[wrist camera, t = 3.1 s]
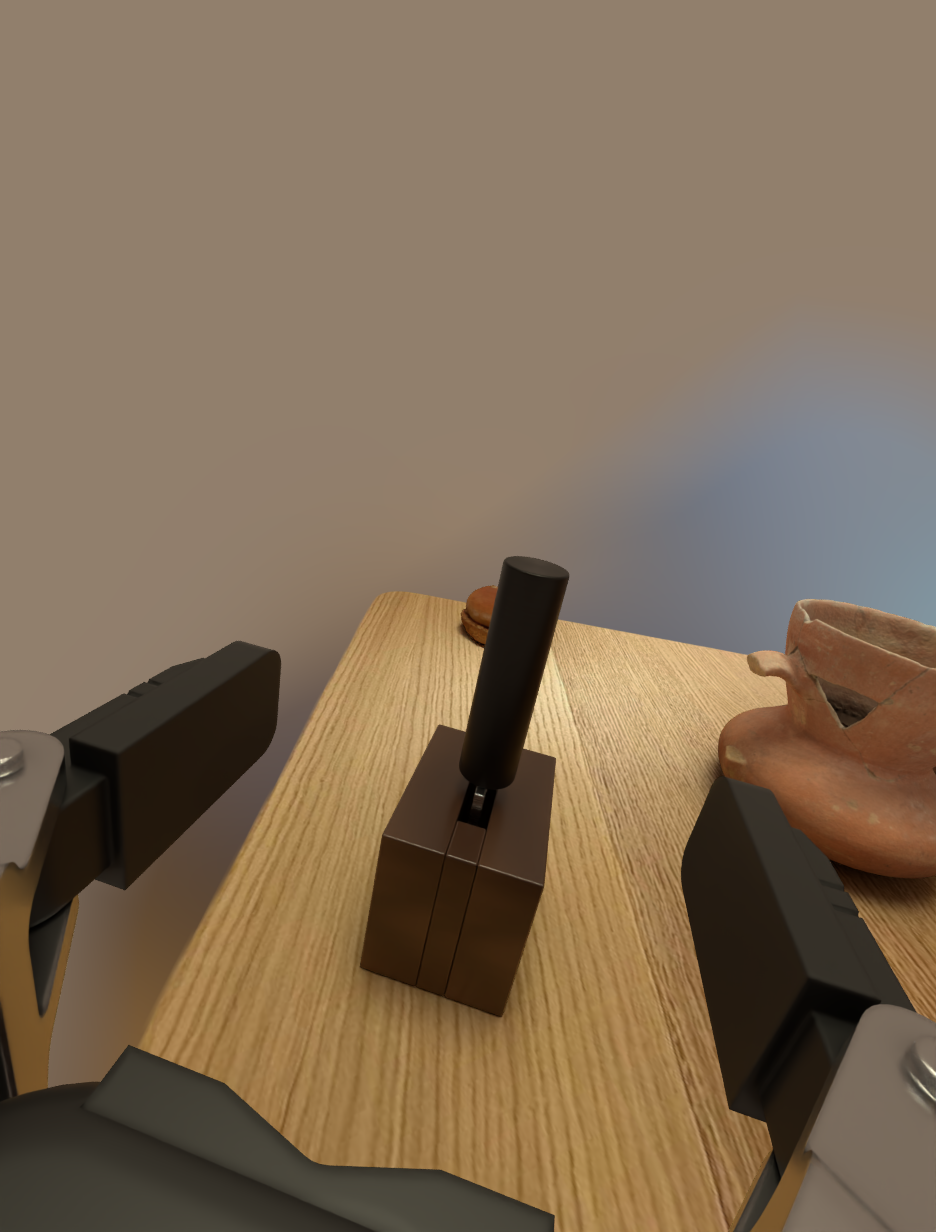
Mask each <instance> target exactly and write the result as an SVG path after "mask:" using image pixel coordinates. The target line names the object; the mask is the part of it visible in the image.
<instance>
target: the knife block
mask: <svg viewBox="0 0 936 1232" xmlns="http://www.w3.org/2000/svg"><path fill="white" fill-rule="evenodd" d="M465 734H466V732H464V731H461V730H457V729H454V728H450V727H447V726H443V725H438V727H437V729H436V731H435V733H434V735H433V736H432V738H431V740H430V742H429V744H428V746H427V748H426V750H425V752H424V754H423V756H422V758H421V760H420V762H419V764H418V766H417V768H416V770H415V772H414V774H413V776H412V778H411V780H410V781H409V783H408V785H407V787H406V789H405V791H404V793H403V795H402V797H401V799H400V801H399V803H398V805H397V807H396V809H395V811H394V813H393V815H392V817H391V819H390V821H389V823H388V825H387V827H386V828H385V830H384V832H383V834H382V839H381V845H380V851H379V857H378V863H377V869H376V875H375V880H374V886H373V892H372V898H371V904H370V910H369V916H368V922H367V928H366V934H365V940H364V946H363V951H362V957H361V963H360V967H362V968H365V969H368V970H370V971H373V972H376V973H379V974H382V975H385V976H387V977H390V978H393V979H396V980H399V981H401V982H404V983H407V984H410V985H413V986H415V985H416V986H417V987H419V988H422V989H425V990H428V991H430V992H433V993H436V994H439V995H442V996H443V995H444V994H445V997H447V998H450V999H452V1000H455V1001H458V1002H461V1003H464V1004H466V1005H469V1006H472V1007H475V1008H478V1009H481V1010H483V1011H486V1012H489V1013H492V1014H495V1015H497V1016H500V1017H501V1016H502V1015H503V1013H504V1010H505V1006H506V1003H507V1000H508V997H509V994H510V991H511V988H512V985H513V982H514V979H515V975H516V972H517V969H518V966H519V963H520V960H521V957H522V954H523V951H524V948H525V944H526V941H527V938H528V935H529V932H530V929H531V926H532V923H533V920H534V916H535V913H536V910H537V907H538V904H539V901H540V898H541V895H542V892H543V889H544V883H545V872H546V861H547V850H548V840H549V829H550V818H551V808H552V797H553V786H554V776H555V765H556V758H555V757H551V756H548V755H544V754H541V753H537V752H534V751H530V750H527V749H523V750H522V754H521V758H520V761H519V765H518V769H517V773H516V776H515V780H514V781H513V783H512V784H511V785H509V786H508V787H506V788H503V789H498V790H490V789H488V790H487V794H486V798H485V802H484V806H483V810H482V814H481V818H480V822H479V826H478V827H477V826H474V825H470V824H468V819H469V815H470V811H471V807H472V803H473V799H474V794H475V791H476V788H477V786H476V785H474V784H472V783H470V782H469V781H467V780H466V779H465V778H464V777H463V775H462V774H461V772H460V769H459V761H460V756H461V752H462V747H463V743H464V738H465Z"/></svg>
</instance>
